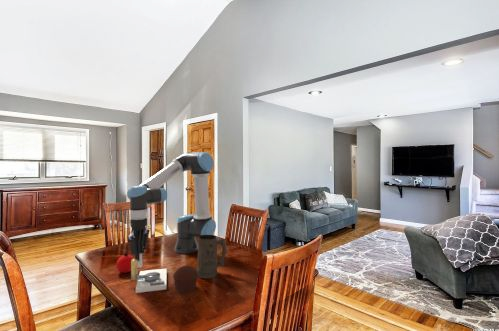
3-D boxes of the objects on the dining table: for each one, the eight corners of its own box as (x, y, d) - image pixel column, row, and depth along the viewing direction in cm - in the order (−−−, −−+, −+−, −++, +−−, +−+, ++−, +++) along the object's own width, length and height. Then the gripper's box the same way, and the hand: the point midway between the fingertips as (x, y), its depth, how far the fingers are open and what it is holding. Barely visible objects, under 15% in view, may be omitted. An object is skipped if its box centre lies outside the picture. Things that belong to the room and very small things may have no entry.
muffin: (199, 293, 119) (199, 271, 118) (173, 296, 115) (173, 273, 115) (196, 282, 130) (197, 261, 130) (173, 284, 127) (173, 263, 127)
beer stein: (198, 280, 132) (201, 239, 132) (192, 272, 141) (195, 234, 141) (227, 276, 139) (230, 238, 139) (219, 269, 148) (222, 233, 149)
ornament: (117, 277, 135) (117, 257, 135) (115, 270, 142) (115, 252, 142) (136, 273, 140) (136, 254, 140) (133, 267, 147) (133, 249, 147)
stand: (166, 272, 141) (166, 265, 141) (166, 289, 122) (166, 280, 122) (139, 275, 137) (139, 267, 137) (135, 293, 118) (135, 284, 118)
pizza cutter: (160, 274, 132) (160, 254, 132) (159, 280, 126) (159, 259, 125) (132, 277, 129) (132, 257, 128) (130, 283, 122) (130, 262, 122)
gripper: (141, 215, 136) (141, 261, 136) (122, 220, 124) (122, 271, 124) (154, 216, 134) (154, 263, 134) (135, 221, 122) (135, 273, 122)
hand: (139, 266), depth 129 cm, fingers closed
